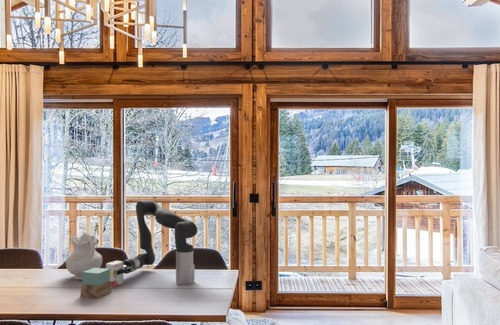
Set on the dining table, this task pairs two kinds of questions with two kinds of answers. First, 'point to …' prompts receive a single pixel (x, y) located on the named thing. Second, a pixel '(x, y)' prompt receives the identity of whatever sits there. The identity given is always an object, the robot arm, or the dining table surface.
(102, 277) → the green block
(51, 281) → the dining table surface
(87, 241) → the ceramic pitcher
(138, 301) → the dining table surface
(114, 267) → the ink box
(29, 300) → the dining table surface
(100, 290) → the walnut block
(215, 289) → the dining table surface
